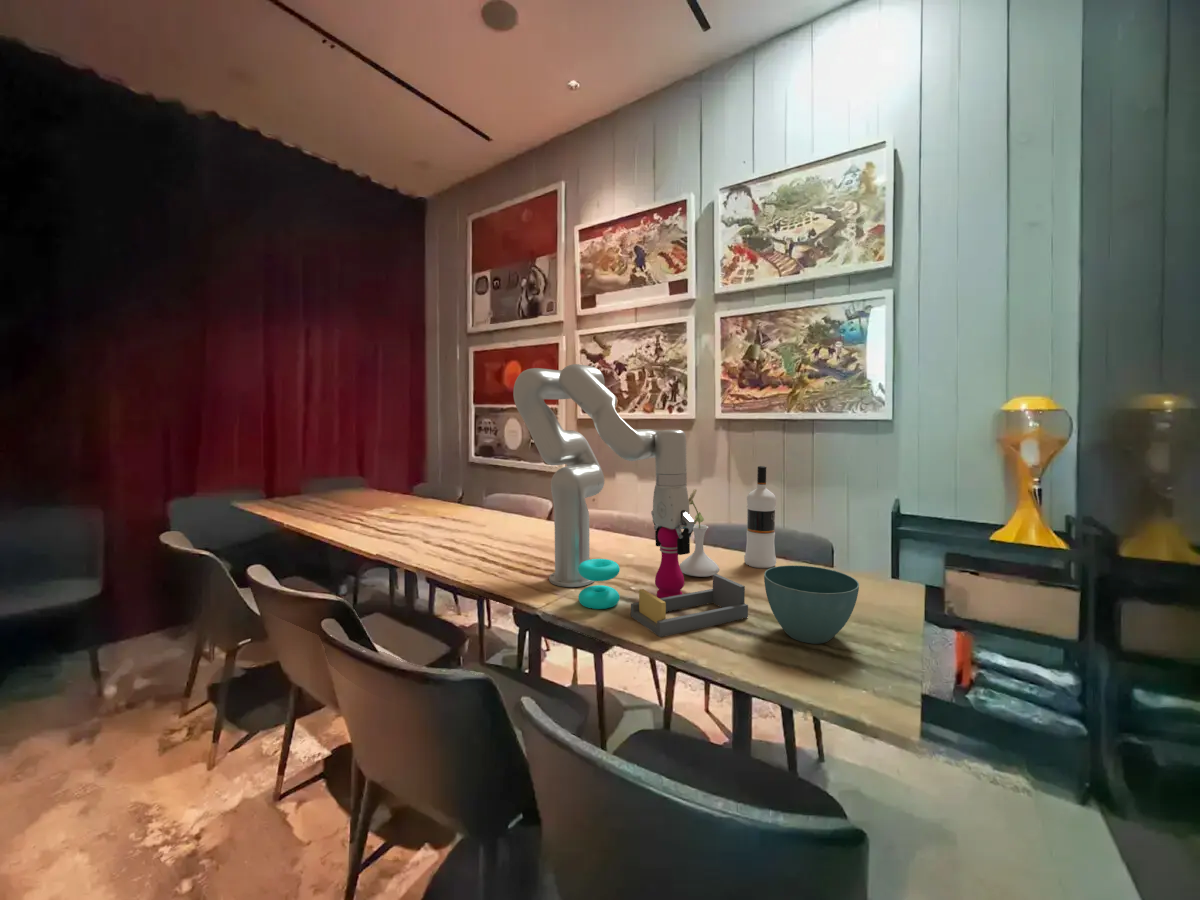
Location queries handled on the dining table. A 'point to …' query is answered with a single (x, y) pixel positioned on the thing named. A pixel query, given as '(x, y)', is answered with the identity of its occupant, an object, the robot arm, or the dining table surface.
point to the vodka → (760, 525)
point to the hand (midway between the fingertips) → (672, 549)
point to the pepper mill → (669, 565)
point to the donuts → (598, 594)
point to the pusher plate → (651, 606)
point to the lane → (721, 594)
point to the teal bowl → (810, 601)
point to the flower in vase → (698, 551)
